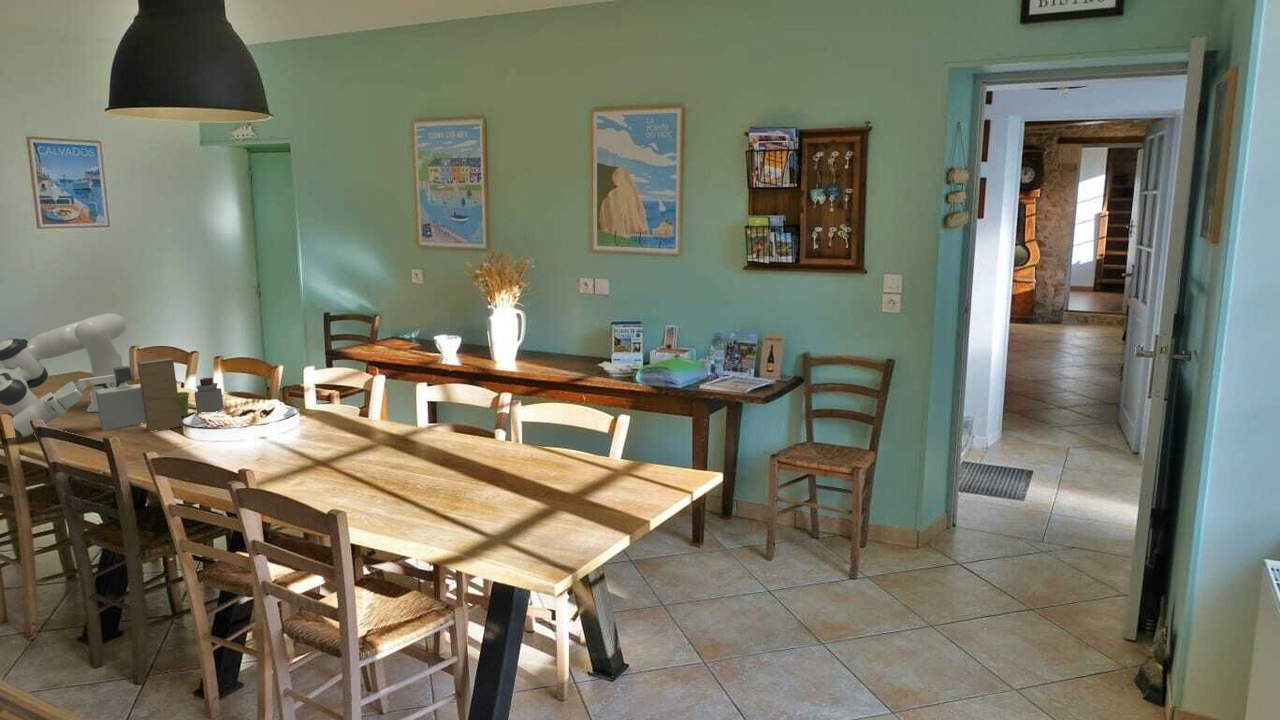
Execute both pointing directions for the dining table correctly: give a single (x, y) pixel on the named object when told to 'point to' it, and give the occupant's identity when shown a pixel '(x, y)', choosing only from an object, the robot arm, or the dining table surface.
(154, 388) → the walnut stand
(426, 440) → the dining table surface
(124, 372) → the mallet
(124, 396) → the notepad block
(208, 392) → the perfume bottle
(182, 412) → the plant pot
